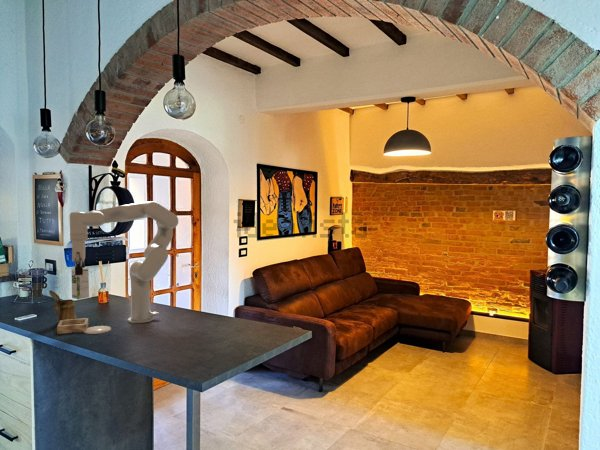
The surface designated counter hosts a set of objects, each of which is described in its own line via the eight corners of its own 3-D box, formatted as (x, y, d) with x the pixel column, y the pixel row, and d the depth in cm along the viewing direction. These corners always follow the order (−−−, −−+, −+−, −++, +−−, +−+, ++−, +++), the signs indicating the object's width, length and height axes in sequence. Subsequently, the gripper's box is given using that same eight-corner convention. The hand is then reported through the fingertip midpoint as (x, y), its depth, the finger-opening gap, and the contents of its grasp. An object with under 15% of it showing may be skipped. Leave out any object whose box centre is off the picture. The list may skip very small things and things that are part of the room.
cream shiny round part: (111, 326, 219) (111, 324, 218) (110, 332, 207) (110, 331, 207) (84, 328, 214) (84, 327, 214) (82, 335, 203) (82, 333, 203)
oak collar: (88, 324, 220) (88, 318, 220) (86, 331, 209) (86, 324, 209) (60, 327, 215) (60, 320, 215) (57, 333, 204) (57, 326, 204)
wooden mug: (44, 324, 219) (44, 289, 219) (70, 319, 231) (70, 285, 230) (54, 327, 215) (54, 291, 214) (80, 321, 226) (80, 287, 226)
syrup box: (71, 298, 211) (70, 268, 210) (83, 296, 216) (82, 266, 215) (78, 299, 208) (77, 269, 207) (89, 297, 213) (88, 267, 212)
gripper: (72, 236, 217) (73, 271, 218) (67, 239, 201) (68, 276, 201) (89, 235, 219) (90, 270, 220) (85, 238, 203) (86, 275, 204)
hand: (80, 273), depth 211 cm, fingers closed on syrup box, 8 cm apart
